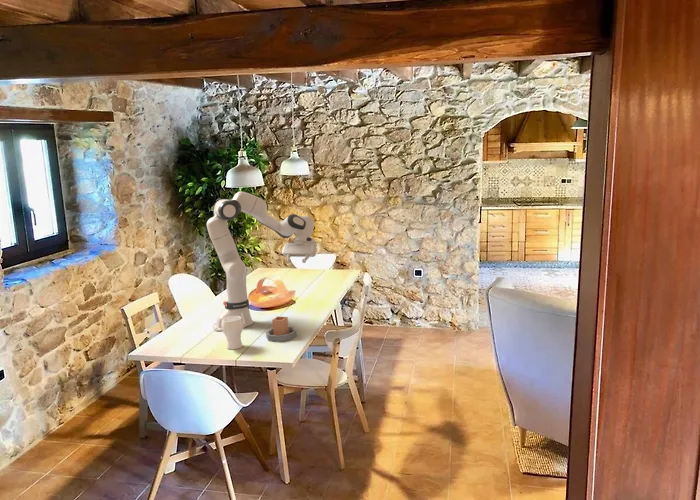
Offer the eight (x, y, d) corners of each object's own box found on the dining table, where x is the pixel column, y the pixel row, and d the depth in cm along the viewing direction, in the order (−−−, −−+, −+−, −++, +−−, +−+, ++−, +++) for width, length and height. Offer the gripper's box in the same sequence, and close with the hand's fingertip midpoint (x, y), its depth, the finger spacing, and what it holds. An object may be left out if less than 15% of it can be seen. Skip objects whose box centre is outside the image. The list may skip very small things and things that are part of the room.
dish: (270, 343, 295) (269, 338, 295) (264, 334, 309) (264, 329, 309) (299, 338, 300) (298, 333, 299) (292, 329, 314) (291, 324, 313)
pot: (283, 337, 301) (282, 320, 299) (273, 336, 303) (272, 320, 301) (289, 333, 306) (287, 316, 304) (278, 332, 308) (277, 316, 306)
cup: (226, 352, 287) (223, 323, 285) (222, 345, 297) (218, 317, 294) (247, 347, 291) (244, 319, 289) (242, 341, 301) (239, 314, 298)
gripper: (283, 238, 334) (277, 259, 327) (316, 238, 327) (310, 259, 320) (287, 244, 339) (281, 264, 332) (319, 244, 332) (314, 265, 325)
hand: (296, 262), depth 326 cm, fingers open, 8 cm apart
